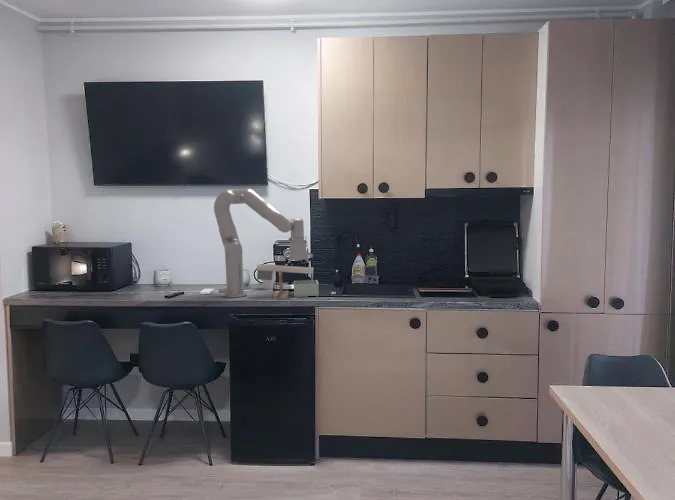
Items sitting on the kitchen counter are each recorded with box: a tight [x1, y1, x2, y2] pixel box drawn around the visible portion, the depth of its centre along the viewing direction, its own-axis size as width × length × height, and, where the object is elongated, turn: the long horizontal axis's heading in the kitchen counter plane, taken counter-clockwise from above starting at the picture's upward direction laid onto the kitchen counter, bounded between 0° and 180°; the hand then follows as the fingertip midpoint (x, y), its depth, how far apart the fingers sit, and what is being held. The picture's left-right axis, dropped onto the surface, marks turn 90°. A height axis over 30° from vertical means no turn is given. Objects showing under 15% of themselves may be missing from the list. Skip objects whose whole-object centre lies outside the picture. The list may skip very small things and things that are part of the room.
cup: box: [293, 279, 320, 298], centre depth 340 cm, size 14×14×7 cm
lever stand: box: [273, 271, 289, 299], centre depth 339 cm, size 8×14×14 cm, turn 4°
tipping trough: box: [256, 263, 314, 281], centre depth 343 cm, size 31×17×8 cm, turn 94°
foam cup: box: [261, 271, 277, 291], centre depth 363 cm, size 10×9×13 cm
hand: (298, 269), depth 349 cm, fingers open, 9 cm apart
